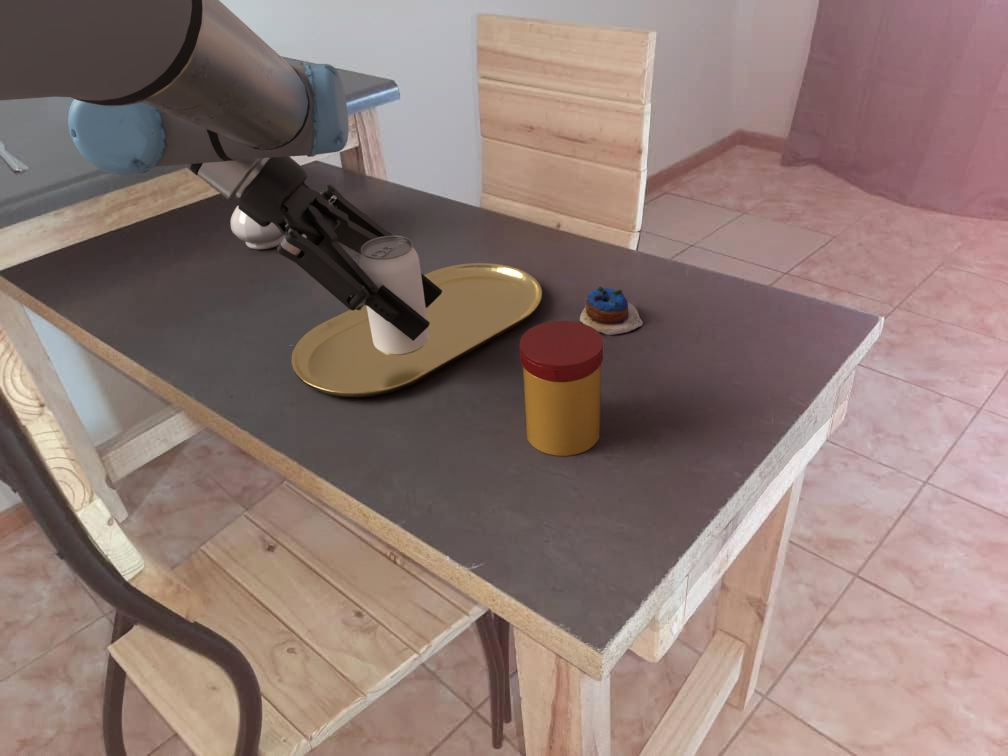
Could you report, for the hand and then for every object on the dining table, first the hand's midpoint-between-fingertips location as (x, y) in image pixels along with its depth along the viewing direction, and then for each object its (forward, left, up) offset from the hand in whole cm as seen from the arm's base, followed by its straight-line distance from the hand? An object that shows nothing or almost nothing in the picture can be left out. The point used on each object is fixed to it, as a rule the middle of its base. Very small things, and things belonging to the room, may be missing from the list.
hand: (428, 314), depth 87 cm
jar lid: (-10, -16, +3) cm, 20 cm away
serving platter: (+8, +4, -7) cm, 11 cm away
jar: (-10, -16, -7) cm, 21 cm away
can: (0, +4, -4) cm, 5 cm away
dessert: (+13, -19, -7) cm, 24 cm away
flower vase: (+31, +37, -7) cm, 48 cm away
